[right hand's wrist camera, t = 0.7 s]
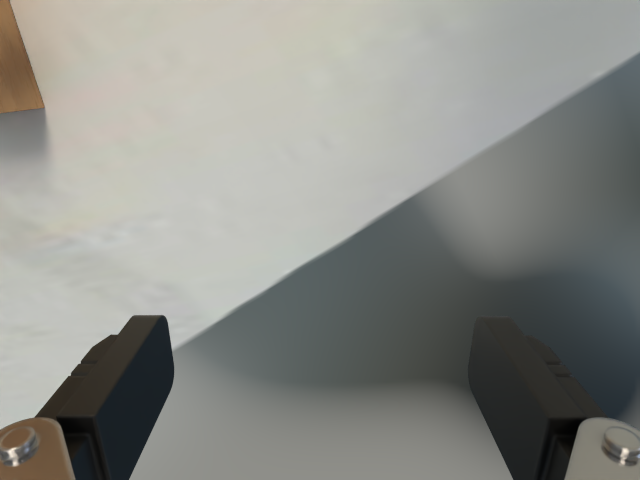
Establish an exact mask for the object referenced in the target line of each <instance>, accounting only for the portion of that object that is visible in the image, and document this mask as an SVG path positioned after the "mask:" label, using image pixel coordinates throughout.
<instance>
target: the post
mask: <svg viewBox="0 0 640 480" xmlns="http://www.w3.org/2000/svg"><path fill="white" fill-rule="evenodd" d="M38 108H44V104H43V101H42V98H41V95H40V92H39V89H38V86H37V83H36V80H35V77H34V74H33V71H32V68H31V65H30V62H29V59H28V56H27V53H26V50H25V47H24V44H23V41H22V38H21V35H20V32H19V29H18V26H17V23H16V20H15V17H14V14H13V11H12V8H11V5H10V2H9V0H0V113H7V112H15V111H23V110H31V109H38Z"/></svg>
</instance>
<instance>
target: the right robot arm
mask: <svg viewBox="0 0 640 480" xmlns="http://www.w3.org/2000/svg"><path fill="white" fill-rule="evenodd" d="M468 378H469V384H470V388H471V391H472V393H473V395H474V397H475V399H476V402H477V404H478V406H479V408H480V410H481V412H482V414H483V416H484V418H485V421H486V423H487V425H488V427H489V429H490V431H491V433H492V435H493V437H494V440H495V442H496V444H497V446H498V448H499V450H500V452H501V454H502V456H503V458H504V461H505V463H506V465H507V467H508V469H509V471H510V473H511V475H512V478H513V480H640V430H639V429H637V428H636V427H634V426H632V425H629V424H627V423H624V422H621V421H618V420H614V419H610V418H608V417H607V416H606V414H605V413H604V412H603V411H602V410H601V408H600V407H599V406H598V405H597V404H596V402H595V401H594V400H593V399H592V398H591V396H590V395H589V394H588V393H587V391H586V390H585V389H584V388H583V387H582V386H581V384H580V383H579V382H578V381H577V379H576V378H575V377H572V373H571V372H570V371H569V370H568V369H567V368H566V366H565V365H562V362H561V360H560V359H559V358H558V357H557V355H556V354H555V353H554V352H553V351H552V349H551V348H550V347H548V346H547V345H545V344H544V343H542V342H541V341H539V340H538V339H536V338H535V337H533V336H525V335H524V334H523V333H522V331H521V330H520V329H519V327H518V326H517V325H516V324H515V322H514V321H513V320H512V319H511V318H510V317H509V316H479V317H477V319H476V321H475V325H474V331H473V338H472V345H471V351H470V358H469V365H468ZM173 379H174V362H173V356H172V349H171V342H170V335H169V328H168V322H167V319H166V317H165V316H163V315H134V316H132V317H131V318H130V320H129V321H128V322H127V324H126V325H125V326H124V328H123V329H122V330H121V331H120V333H119V334H118V335H110V336H108V337H107V338H105V339H104V340H102V341H101V342H99V343H98V344H96V345H95V346H93V347H92V348H91V350H90V351H89V352H88V353H87V354H86V356H85V357H84V358H83V359H82V360H81V364H78V365H77V367H76V368H75V369H74V370H73V371H72V373H71V376H68V377H67V379H66V380H65V381H64V382H63V383H62V385H61V386H60V387H59V388H58V390H57V391H56V392H55V393H54V394H53V396H52V397H51V398H50V399H49V400H48V402H47V403H46V404H45V405H44V407H43V408H42V409H41V410H40V411H39V413H38V414H37V415H36V416H35V417H34V418H29V419H25V420H22V421H19V422H16V423H13V424H11V425H8V426H6V427H4V428H3V429H1V430H0V480H129V478H130V476H131V474H132V472H133V470H134V467H135V465H136V463H137V461H138V459H139V457H140V455H141V453H142V450H143V448H144V446H145V444H146V442H147V440H148V437H149V436H150V433H151V431H152V429H153V427H154V425H155V423H156V421H157V418H158V416H159V414H160V412H161V410H162V408H163V406H164V403H165V401H166V399H167V397H168V395H169V393H170V390H171V388H172V384H173Z"/></svg>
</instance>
